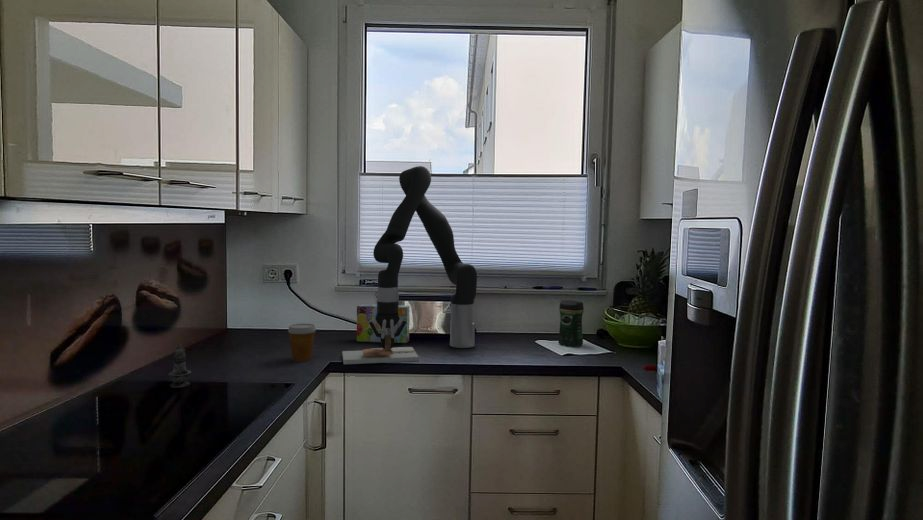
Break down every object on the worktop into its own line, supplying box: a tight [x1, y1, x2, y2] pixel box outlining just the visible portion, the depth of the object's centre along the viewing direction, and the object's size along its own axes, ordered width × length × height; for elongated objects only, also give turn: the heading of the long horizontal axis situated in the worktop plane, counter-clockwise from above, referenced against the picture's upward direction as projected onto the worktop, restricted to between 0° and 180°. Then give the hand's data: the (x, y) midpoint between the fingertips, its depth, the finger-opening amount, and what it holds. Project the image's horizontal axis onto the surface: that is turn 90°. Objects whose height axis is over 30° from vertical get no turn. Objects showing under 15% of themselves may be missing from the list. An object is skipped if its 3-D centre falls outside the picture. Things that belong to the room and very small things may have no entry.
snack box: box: [356, 303, 410, 344], centre depth 214 cm, size 21×6×15 cm, turn 84°
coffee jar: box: [557, 299, 585, 348], centre depth 214 cm, size 10×8×19 cm
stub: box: [362, 334, 393, 356], centre depth 183 cm, size 10×5×6 cm, turn 105°
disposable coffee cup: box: [287, 323, 317, 363], centre depth 182 cm, size 10×10×12 cm
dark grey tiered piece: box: [168, 343, 192, 389], centre depth 151 cm, size 6×6×12 cm
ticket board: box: [341, 346, 420, 365], centre depth 187 cm, size 26×13×2 cm, turn 105°
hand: (387, 348), depth 184 cm, fingers closed on stub, 2 cm apart
